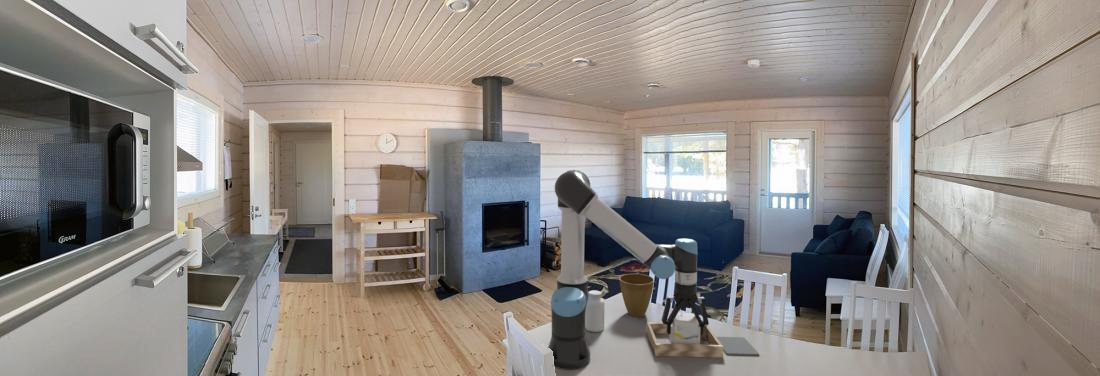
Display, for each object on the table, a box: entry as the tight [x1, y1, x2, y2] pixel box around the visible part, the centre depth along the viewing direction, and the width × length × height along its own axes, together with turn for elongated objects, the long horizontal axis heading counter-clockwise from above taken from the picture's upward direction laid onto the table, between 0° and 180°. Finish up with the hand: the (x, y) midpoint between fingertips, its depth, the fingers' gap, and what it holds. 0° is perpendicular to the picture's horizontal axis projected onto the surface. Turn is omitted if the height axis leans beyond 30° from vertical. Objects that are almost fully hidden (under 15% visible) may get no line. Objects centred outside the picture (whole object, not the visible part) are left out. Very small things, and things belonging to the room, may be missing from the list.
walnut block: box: [698, 323, 707, 342], centre depth 156 cm, size 4×4×6 cm
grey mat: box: [716, 336, 760, 357], centre depth 149 cm, size 11×13×1 cm
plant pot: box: [619, 273, 655, 318], centre depth 179 cm, size 15×15×16 cm
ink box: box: [672, 311, 698, 344], centre depth 148 cm, size 9×8×12 cm
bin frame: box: [646, 321, 724, 359], centre depth 151 cm, size 23×19×4 cm
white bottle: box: [585, 289, 605, 333], centre depth 165 cm, size 8×8×15 cm
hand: (684, 342), depth 148 cm, fingers closed on ink box, 9 cm apart
